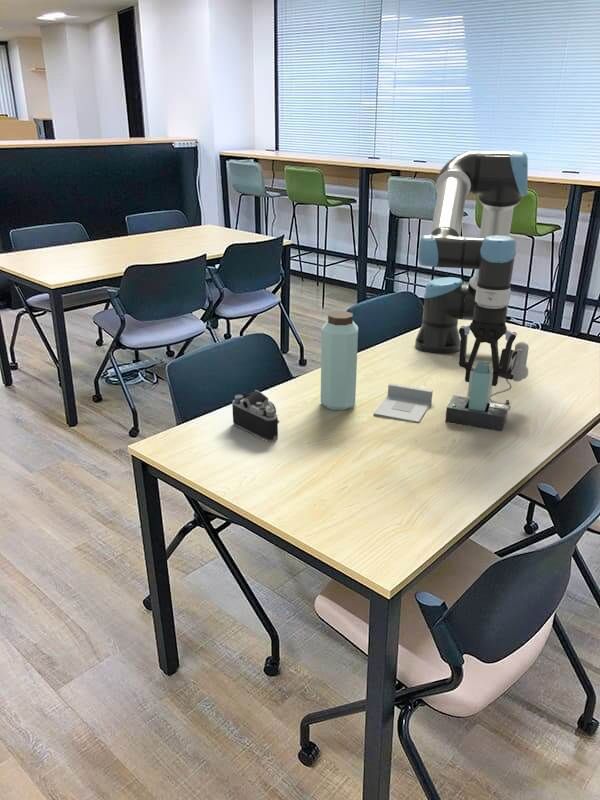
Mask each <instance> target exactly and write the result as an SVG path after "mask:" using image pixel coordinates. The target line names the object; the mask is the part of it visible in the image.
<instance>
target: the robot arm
mask: <svg viewBox="0 0 600 800" xmlns="http://www.w3.org/2000/svg"><path fill="white" fill-rule="evenodd" d="M528 161H529V160H528V155H527V154H526V152H524V151H513V150H495V151H494V150H468V151H465V152H461V153H459V154H458V155H455V156H454V157H452V158H451V159H450V160H449V161H447V163H445V164H444V166H443V167H442V168H441V170H440V171H439V173H438V175H437V177H436V181H435V191H436V194H437V197H436V201H435V207H434V211H433V212H434V213H433V217H432V224H431V227H430V234H429V235H426V234H425V235H422V236H421V237H420V240H419V246H418V263H419V264H420V265H421V266H422V267H423V266H425V267H433V268H447V269H448V268H452V269H453V268H454V269H466V270H467V269H468V270H475V273H474V275H473V276H472V277H471V278H469V281H468V283H463V279H462V278H460V277H454V276H453V277H452V276H448V277H438V278H435V279H431V280H429V281H428V282H427V283H426V285H425V289H424V294H423V297H424V299H423V309H422V310H423V312H422V321H421V322H422V323H421V326H420V328H419V331H418V333H417V335H416V338H415V342H414V343H415V344H414V346H415V348H416V349H417V350H419V351H420V350H421V351H420V352H424V353H426V352H427V353H426V354H433V355H450V354H454V353H457V352H459V357H458V358H459V359H458V366H459V367H461V368H463V369H465V377H464V381H465V382H466V383H468V388H467V396H468V397H470V391H471V383H472V375H473V371H474V369H475V367H473V366H474V363H475V360H476V357H477V354H478V352H479V348H480V346H481V343H486V344H489V345H490V349H491V351H490V352H491V361H492V362H491V363H492V371H491V373H490V378H489V385H488V393H487V399H488V400H489V399H491V398H492V396H491V395H492V394H493V393H492V392H493V387H497V386H498V382H499V374H500V373H506V371H507V368H508V363H509V358H510V353H511V350H512V346H513V343H514V341H515V340H516V338H517V335H518V333H517V332H515V331H513V332H512V331H510V330H509V329H508V328H507V325H506V323H507V322H506V320H507V314H508V313H507V312H508V307H509V303H510V302H509V301H510V298H511V291H512V290H511V282H512V277H513V273H514V272H513V269H514V263H515V257H516V254H517V252H516V251H517V241H516V239H515V238H514V237H511V236H510V235H511V227H512V220H513V215H514V208H515V207H516V206H517V205H519V204H520V202H521V199H522V197H525V196H527V195H528V181H529V179H528V170H529V169H528V167H529V166H528V164H529V162H528ZM468 195H478V201H479V203H480V204H481V205H482V213H481V215H482V216H481V221H480V222H481V223H480V232H479V237H476V236H475V237H473V236H472V237H471V236H461V233H462V226H463V219H464V211H465V205H466V204H465V203H466V197H467V196H468ZM459 320H463V321H471V323H470V324H469V325H466V326H465V325H461V326H460V328H458V322H459ZM470 331H471V333H472V335H473V337H474V338H475V341H474V344H473V347H472V350H471V353H470V355H469V358H468V361H467V347H468V335H469V334H470ZM504 335H505V340H506V341H507V342H505V343H506V344H505V348H504V349H505V353H504V358H503V364H502V366H501V367H499V362H500V357H499V356H500V355H499V346H498V345H499V342H498V341H499V340H500V339H501V338H502V337H503V336H504ZM490 397H491V398H490Z"/></svg>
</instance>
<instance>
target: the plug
mask: <svg viewBox="0 0 600 800" xmlns="http://www.w3.org/2000/svg"><path fill="white" fill-rule="evenodd" d="M490 365H491V362H490V361H482V360H478V361H477V362H476V365H475V367H474V368H475V369H474V371H473V375H472V383H471V391H470V396H469V398H470V399H469V407H468V409H472V410H478V411H484V412H485V410H486V407H487V403H488V401H489V399H487V393H488V385H489V378H490V373H491V371H493V368H492V369H491V368H490Z"/></svg>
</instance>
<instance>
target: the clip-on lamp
mask: <svg viewBox="0 0 600 800" xmlns="http://www.w3.org/2000/svg"><path fill="white" fill-rule="evenodd" d="M529 348H530V346H529V344H528V343H526V342H525V341H519V342H517V343H516V344H514V349H511V353H510V358H509V363H508V368H507V371H506V373H500V374H499V376H498V378H502V379H505V380H506V382H507V385H509V387H508V388H507V389H504V390H499V391H497V392H494V393H491V397H490V399H488V401H491V402H497V401H494V400H492V399H491V398H492V397H493V396H496V395H498V394H502V393H505V392H508V391H510V390H511V389H513V387H512V385H511V383H510V381H509V380H511V381H512V380H513V381H514V382H521V381H522V380H525V379H527V377H528V375H529V368H528V366H527V363H528V362H527V361H528V353H529ZM504 353H505V348H502V349H501V354H500V357H499V367H501V366H502V364H503V358H504ZM497 403H499V402H497ZM505 404H509V405H510V400H509V399H506V400H505Z"/></svg>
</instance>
